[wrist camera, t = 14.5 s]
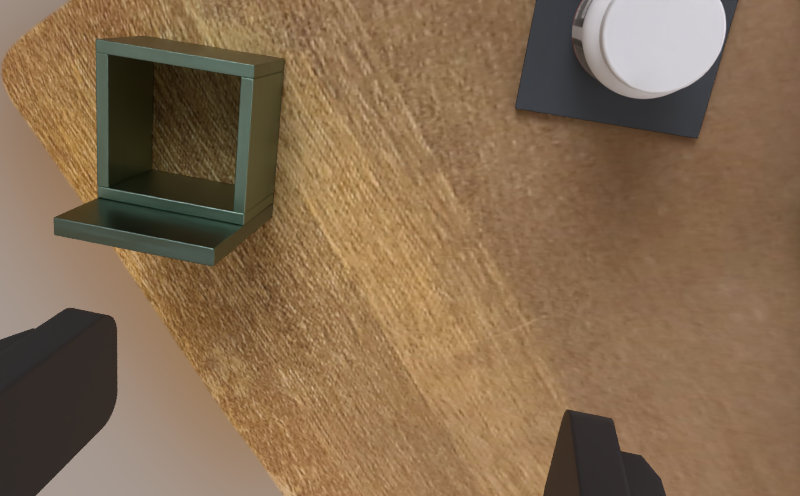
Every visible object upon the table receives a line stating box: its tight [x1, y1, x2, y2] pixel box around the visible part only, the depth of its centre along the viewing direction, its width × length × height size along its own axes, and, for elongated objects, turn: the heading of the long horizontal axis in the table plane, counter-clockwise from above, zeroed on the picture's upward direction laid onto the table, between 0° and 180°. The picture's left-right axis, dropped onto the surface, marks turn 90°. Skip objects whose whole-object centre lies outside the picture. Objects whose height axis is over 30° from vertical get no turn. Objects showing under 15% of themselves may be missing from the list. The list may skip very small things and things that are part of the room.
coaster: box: [515, 0, 738, 138], centre depth 37 cm, size 10×10×1 cm
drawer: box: [54, 36, 285, 266], centre depth 38 cm, size 10×9×9 cm
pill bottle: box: [572, 0, 726, 99], centre depth 32 cm, size 6×6×10 cm
